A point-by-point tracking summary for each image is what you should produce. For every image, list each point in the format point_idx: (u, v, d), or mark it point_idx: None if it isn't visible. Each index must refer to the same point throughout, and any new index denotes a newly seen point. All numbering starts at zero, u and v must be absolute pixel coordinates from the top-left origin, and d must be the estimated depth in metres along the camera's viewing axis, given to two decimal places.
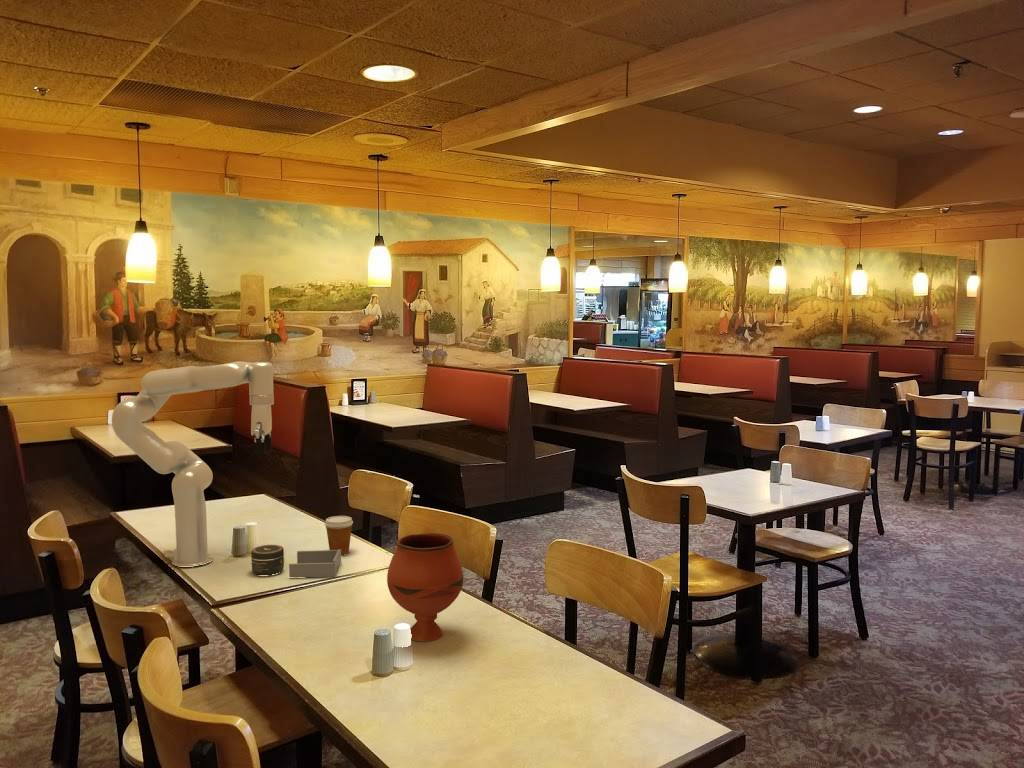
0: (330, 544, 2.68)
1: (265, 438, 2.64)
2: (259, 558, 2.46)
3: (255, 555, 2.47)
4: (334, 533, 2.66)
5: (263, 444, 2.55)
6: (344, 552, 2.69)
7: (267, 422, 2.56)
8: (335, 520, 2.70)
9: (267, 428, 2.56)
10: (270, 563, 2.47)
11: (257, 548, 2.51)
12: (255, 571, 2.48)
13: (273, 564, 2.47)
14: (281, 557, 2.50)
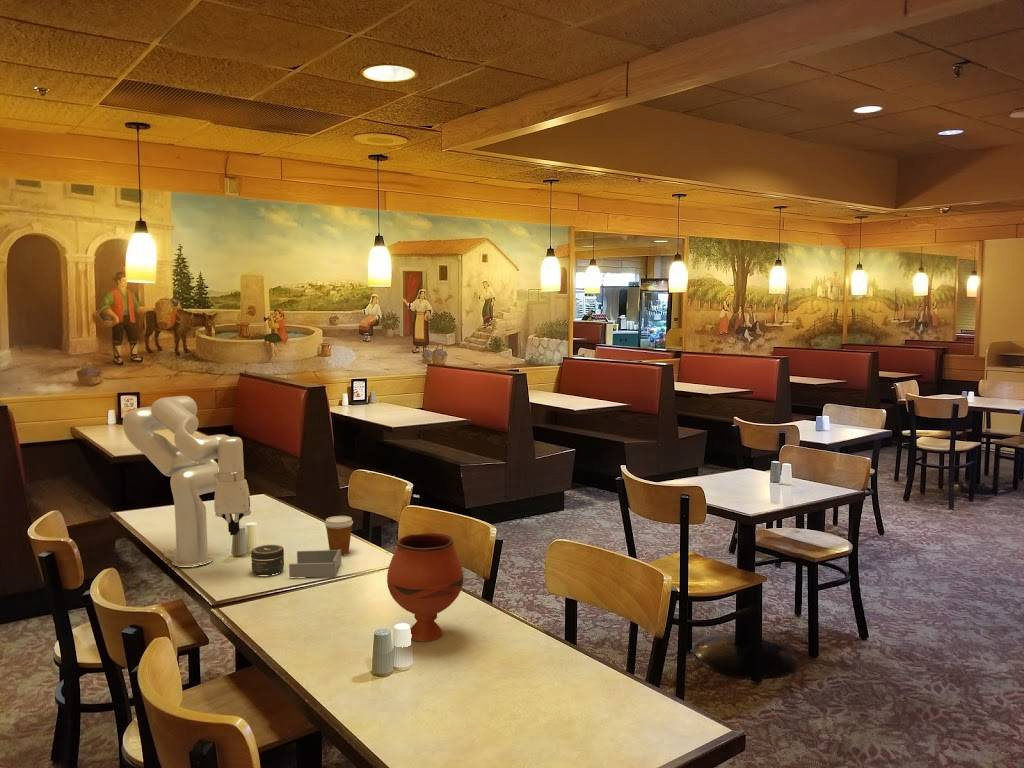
0: (330, 544, 2.68)
1: (233, 522, 2.49)
2: (259, 558, 2.46)
3: (255, 555, 2.47)
4: (334, 533, 2.66)
5: None
6: (344, 552, 2.69)
7: None
8: (335, 520, 2.70)
9: None
10: (270, 563, 2.47)
11: (257, 548, 2.51)
12: (255, 571, 2.48)
13: (273, 564, 2.47)
14: (281, 557, 2.50)
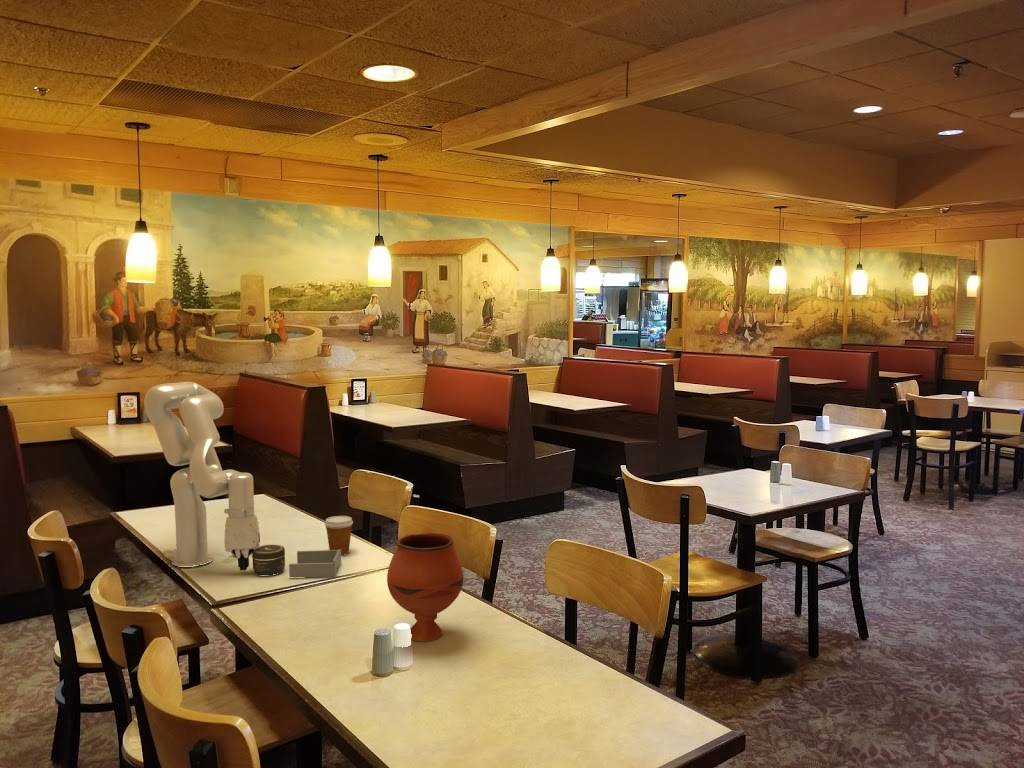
0: (330, 544, 2.68)
1: (242, 558, 2.50)
2: (260, 558, 2.46)
3: (256, 554, 2.47)
4: (334, 533, 2.66)
5: None
6: (344, 552, 2.69)
7: None
8: (335, 520, 2.70)
9: None
10: (271, 563, 2.47)
11: None
12: (256, 571, 2.48)
13: (274, 564, 2.47)
14: (282, 557, 2.50)
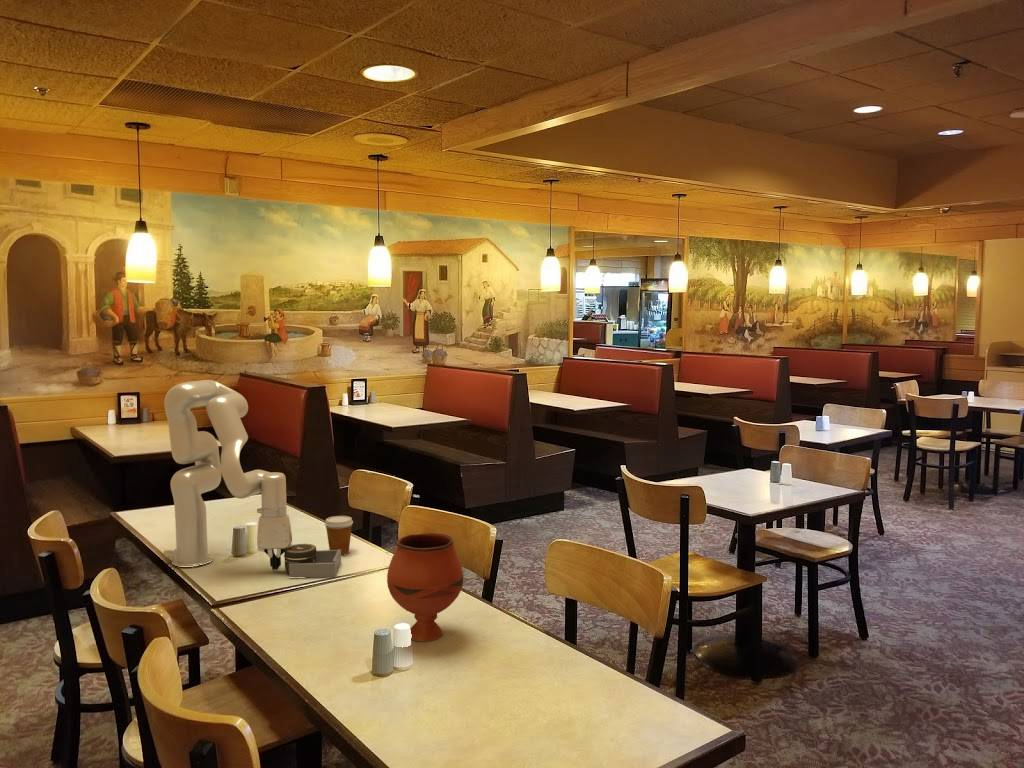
0: (330, 544, 2.68)
1: (274, 557, 2.51)
2: (292, 557, 2.47)
3: (288, 553, 2.48)
4: (334, 533, 2.66)
5: None
6: (344, 552, 2.69)
7: None
8: (335, 520, 2.70)
9: None
10: (303, 562, 2.48)
11: None
12: (288, 570, 2.49)
13: None
14: (314, 556, 2.50)
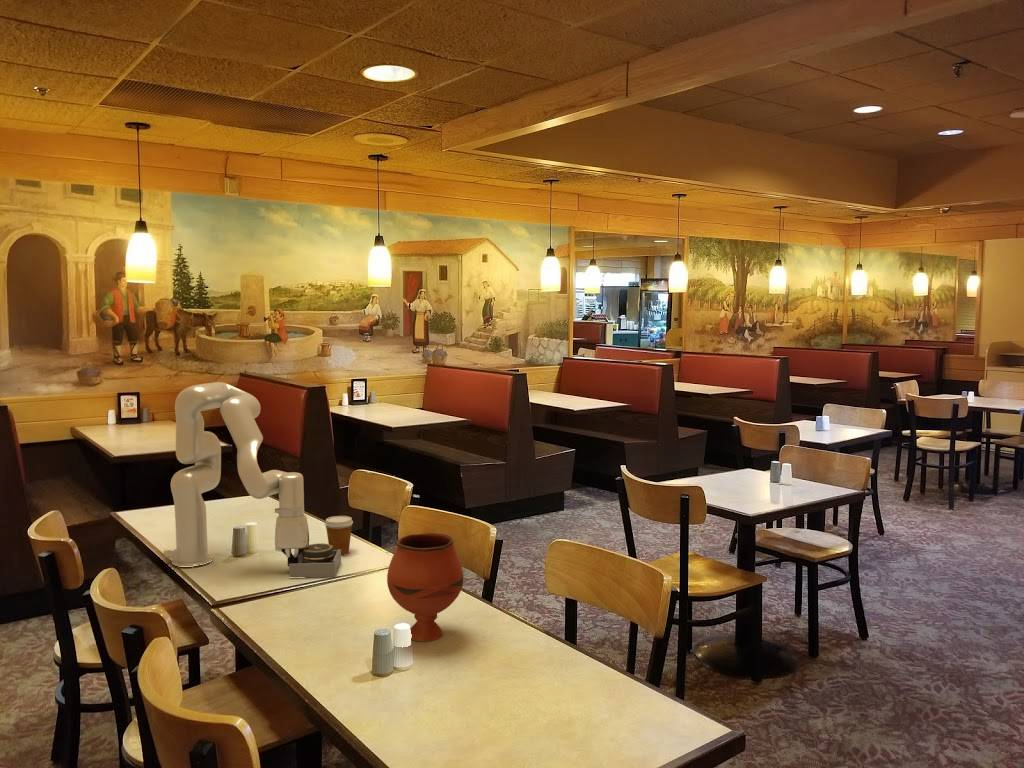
0: (330, 544, 2.68)
1: None
2: (310, 557, 2.48)
3: (306, 553, 2.48)
4: (334, 533, 2.66)
5: None
6: (344, 552, 2.69)
7: None
8: (335, 520, 2.70)
9: None
10: (320, 562, 2.48)
11: None
12: None
13: None
14: (331, 556, 2.51)
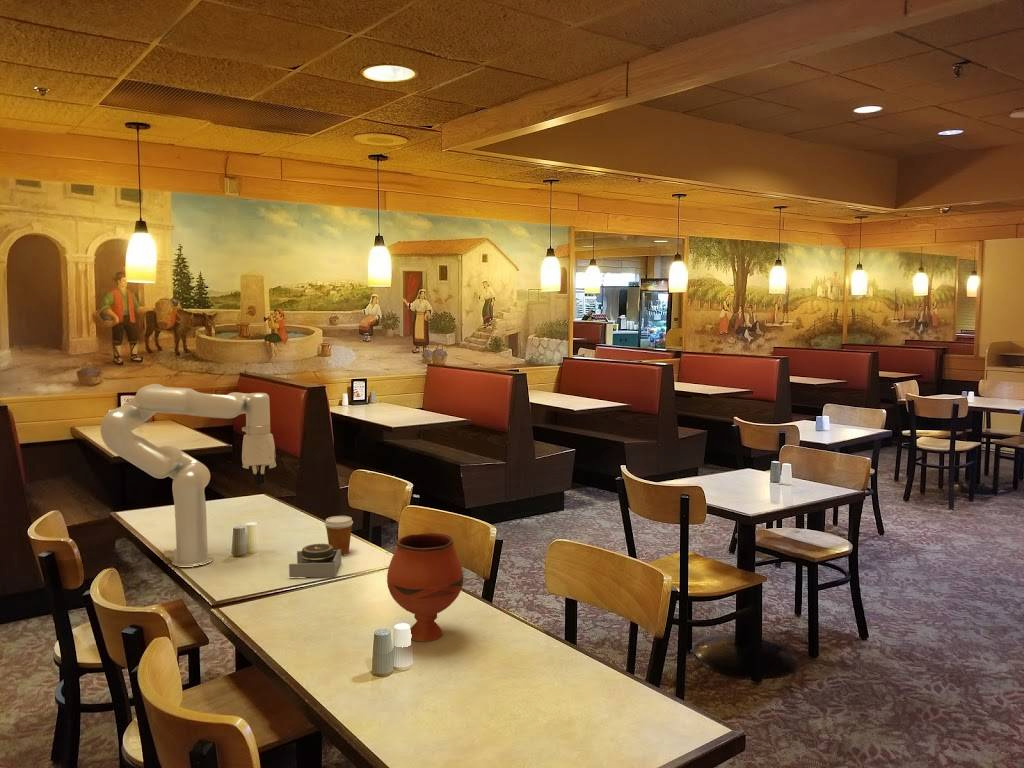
0: (330, 544, 2.68)
1: (259, 474, 2.62)
2: (310, 557, 2.48)
3: (306, 553, 2.48)
4: (334, 533, 2.66)
5: None
6: (344, 552, 2.69)
7: None
8: (335, 520, 2.70)
9: None
10: (320, 562, 2.48)
11: (308, 547, 2.53)
12: None
13: None
14: (331, 556, 2.51)
